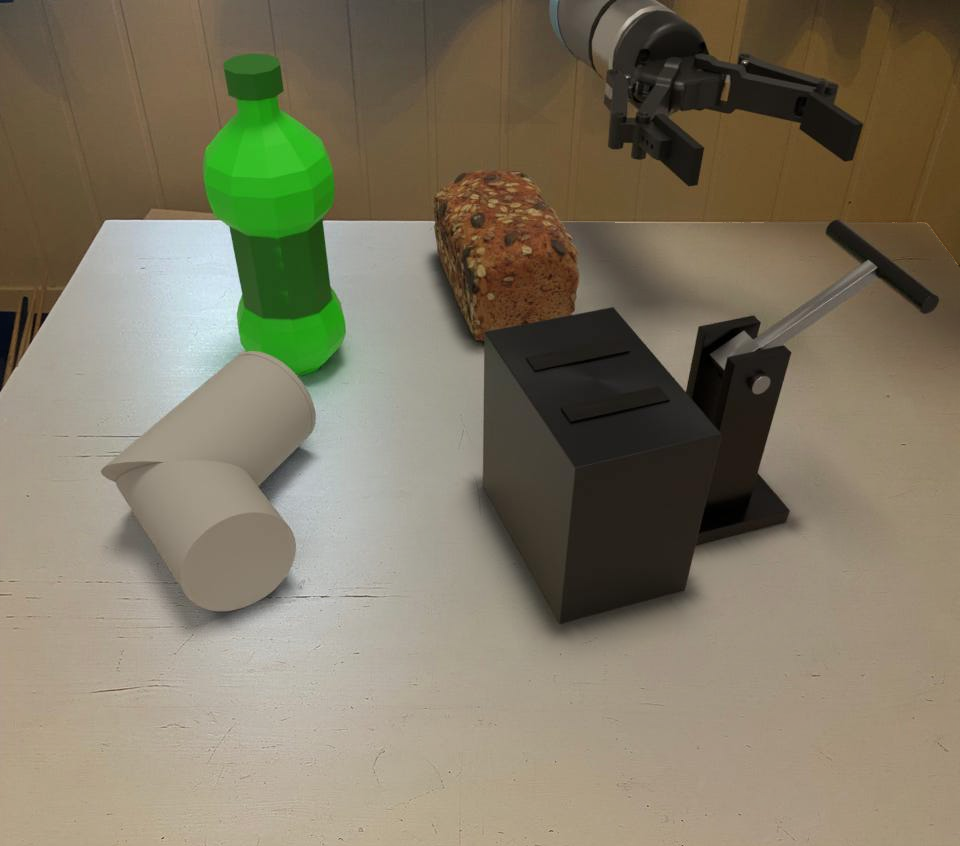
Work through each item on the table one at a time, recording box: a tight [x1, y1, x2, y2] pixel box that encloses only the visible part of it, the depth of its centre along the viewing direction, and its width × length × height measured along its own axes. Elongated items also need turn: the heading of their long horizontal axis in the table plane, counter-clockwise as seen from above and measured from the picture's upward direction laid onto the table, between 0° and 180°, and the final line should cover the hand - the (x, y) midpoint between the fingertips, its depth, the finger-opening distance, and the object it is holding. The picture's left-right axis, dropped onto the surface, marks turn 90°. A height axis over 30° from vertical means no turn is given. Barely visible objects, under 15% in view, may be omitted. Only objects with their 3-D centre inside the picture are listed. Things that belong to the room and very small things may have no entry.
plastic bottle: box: [202, 53, 347, 377], centre depth 81 cm, size 10×10×25 cm
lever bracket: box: [685, 314, 792, 546], centre depth 72 cm, size 10×8×15 cm
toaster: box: [482, 306, 722, 624], centre depth 70 cm, size 10×16×14 cm, turn 20°
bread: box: [432, 169, 580, 342], centre depth 95 cm, size 19×11×10 cm, turn 12°
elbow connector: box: [100, 351, 317, 612], centre depth 74 cm, size 18×11×20 cm
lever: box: [710, 219, 940, 379], centre depth 67 cm, size 13×11×2 cm
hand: (777, 155), depth 73 cm, fingers open, 13 cm apart
